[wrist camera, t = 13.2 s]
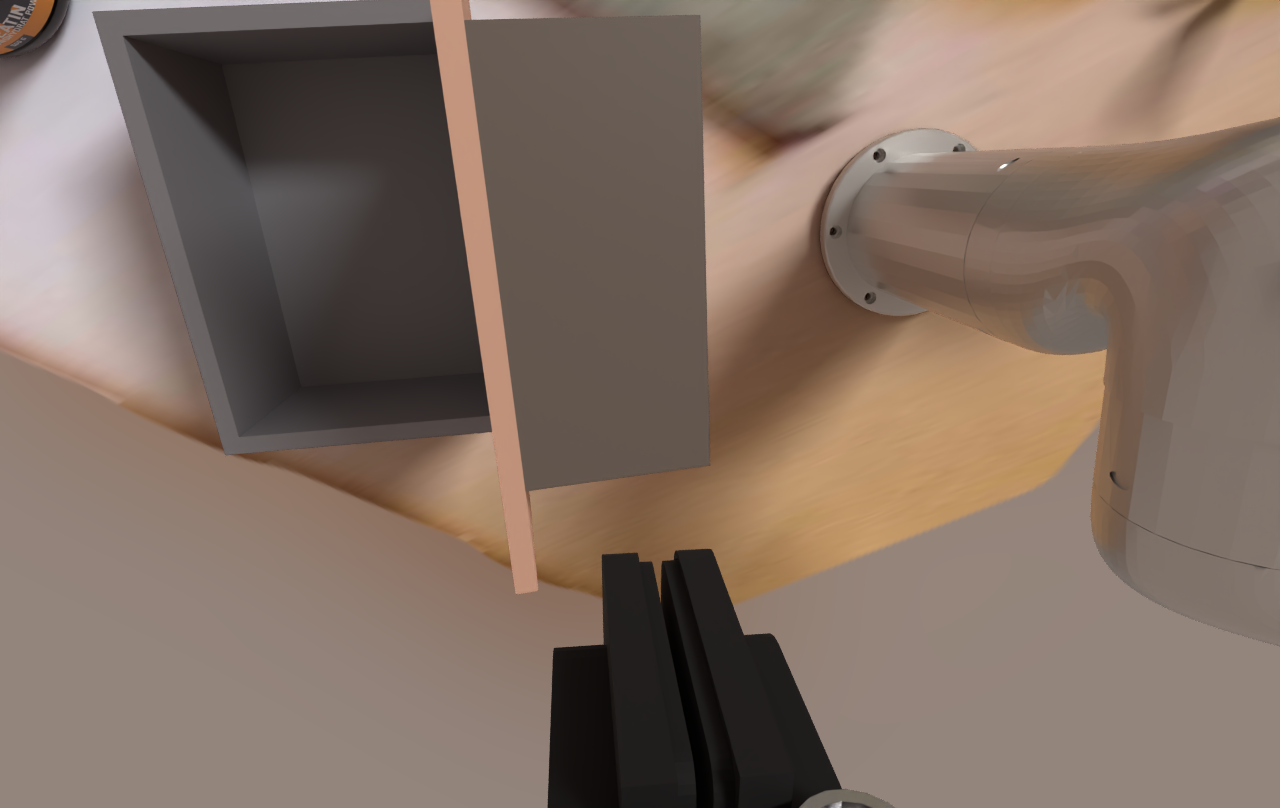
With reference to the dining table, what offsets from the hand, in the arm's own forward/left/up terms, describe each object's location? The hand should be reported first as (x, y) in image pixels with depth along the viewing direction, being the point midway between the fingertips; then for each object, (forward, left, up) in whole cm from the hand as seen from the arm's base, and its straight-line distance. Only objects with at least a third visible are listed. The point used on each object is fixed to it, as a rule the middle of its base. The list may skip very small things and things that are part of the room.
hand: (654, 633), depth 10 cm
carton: (+14, -4, -38) cm, 40 cm away
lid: (+5, -4, -20) cm, 21 cm away
